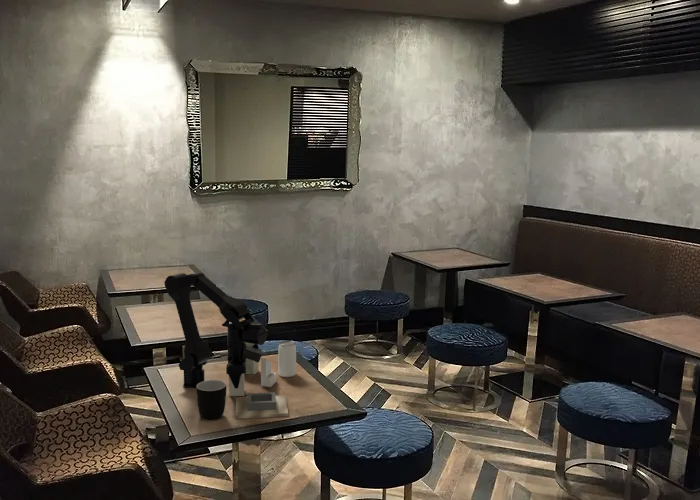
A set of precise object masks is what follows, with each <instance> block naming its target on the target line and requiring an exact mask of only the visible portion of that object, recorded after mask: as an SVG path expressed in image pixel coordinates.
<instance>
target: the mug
mask: <svg viewBox="0 0 700 500" xmlns="http://www.w3.org/2000/svg"><path fill="white" fill-rule="evenodd" d="M195 388H196V390H195V392H196V402H197V408H198V413H199V416H200V418H201V419H202V420H204V421H209V422H210V421H216V420H217V421H218V420H219V419H221V418H222V417H223V415H224V412H225V408H226V401H227V383H226V382H225V381H223V380H220V379H219V380H218V379H209V380H208V379H207V380H205V381H203V382H200V383H198V384H197V386H196V387H195Z"/></svg>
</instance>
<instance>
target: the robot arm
mask: <svg viewBox="0 0 700 500" xmlns="http://www.w3.org/2000/svg"><path fill="white" fill-rule="evenodd" d="M163 283H164V287H165V289H166V292H167V294H168V296H169V297H170V298H171V299H172V300H173V301H174V303H175V306H176V310H177V314H178V318H179V321H180V324H181V329H182V332H183V336H184V339H185V345H184V348H183V354H184V358H183V359H182V360H181V361H179V363H178V367H179V371H183V384H182V387H183V388H196V386H197V384H198V383H200V382H203V381H206V380H205V378H206V377H205V375H206V374H205V369H203V367H204V366H205V365H207V362H208V360H209V359H210V357H211V351H212V350H211V348H210V347H209V346H210V344H209V340H203V338H202V337H201V336H200V335H201V334H200V332H199V328H198V325H197V321H196V316H195V314H194V310H193V305H192V303H191V299H190V294H191V290H192V286H193V287H195V289H197V290H198V291H199V292H200V293H201V294H202V295H204V296H205V297H206V298H207V299H209V301H211V302H212V303H213V304H214V305H216V306H217V308H218V310H219V312H220V314H221V315H222V316H223V318H224V319H225V321H224V322H223V323H222V324H221V326H222V327H224V328H227V344H226V345H227V364H226V366H225V367H226V368H225V369H226V370H225V371H226V373H225V374H227V375H228V378H229V377H230V379H231V381H232V383H233V385H234V388H238V386H239V382H240V377H241V374H244V373H246V364H245V362H246V358H247V359H250V360H253V361H255V362H258V363H260V362H261V358H262V356H263V350H262V349H261V348H259V346H262V345H264V344H265V342H266V341H267V338H268V332H267V330H266V328H265V327H264V323H258V322H257V323H256V322H255V319H254V318H253V316H252V313H250V311H249V310H248V305H247V304H246V303H245V302H243V301H241V300H240V299H238V298H236V297H232V296H230V295H228V294H227V293H226V292H225V291H223V290H222V289H221V288H219V286H217V285H216V284H215V283H214V282H212V281H211V280H210V279H209V278H208V277H206V276H205V274H204V273H203V272H195V273H190V274H186V273H185V272H180V273H176V274H175V273H174V274H170V275H169V276H168V275H167V277H166V278H165V280H164V282H163ZM246 343H252V344H253V345H252V346H246ZM244 375H245V374H244Z"/></svg>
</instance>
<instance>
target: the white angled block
mask: <svg viewBox="0 0 700 500" xmlns="http://www.w3.org/2000/svg"><path fill="white" fill-rule="evenodd" d="M276 382H277V372H273V371H272V362H271V361H270V360H268V359H267V358H262V357H261V359H260V387H267V388H272V387H273V385H274V384H275V383H276Z"/></svg>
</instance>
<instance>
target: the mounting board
mask: <svg viewBox="0 0 700 500" xmlns="http://www.w3.org/2000/svg"><path fill="white" fill-rule="evenodd" d="M275 396H276V410H257V411H247V396H243V397H242V396H239V397H236V398H235V399H236V400H235V402H236V403H235V420H237V419H254V418H256V419H257V418H258V419H259V418H275V417H276V418H278V417H289V409H288V403H287V398H286V397H287V395H275Z"/></svg>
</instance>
